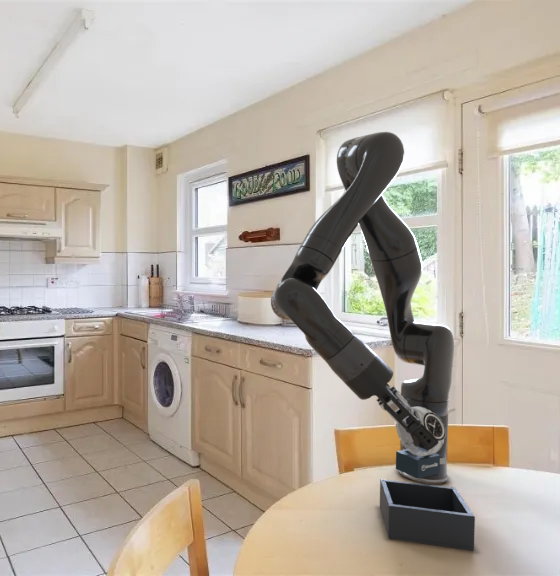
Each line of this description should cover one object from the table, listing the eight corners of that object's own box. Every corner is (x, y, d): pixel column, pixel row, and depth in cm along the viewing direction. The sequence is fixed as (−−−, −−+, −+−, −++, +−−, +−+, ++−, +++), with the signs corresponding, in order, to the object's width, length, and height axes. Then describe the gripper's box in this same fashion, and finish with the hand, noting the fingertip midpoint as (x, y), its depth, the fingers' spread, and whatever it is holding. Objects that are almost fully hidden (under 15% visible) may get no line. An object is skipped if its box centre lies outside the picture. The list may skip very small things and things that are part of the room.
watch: (428, 483, 78) (430, 417, 78) (387, 465, 85) (389, 404, 85) (450, 477, 80) (452, 412, 80) (409, 459, 88) (410, 400, 87)
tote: (379, 508, 90) (380, 478, 89) (454, 517, 86) (455, 487, 86) (388, 538, 79) (389, 505, 79) (474, 551, 76) (474, 516, 76)
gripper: (380, 359, 77) (458, 437, 74) (369, 346, 91) (435, 411, 88) (344, 389, 79) (419, 467, 76) (339, 372, 92) (403, 437, 90)
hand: (428, 437), depth 82 cm, fingers closed on watch, 7 cm apart
